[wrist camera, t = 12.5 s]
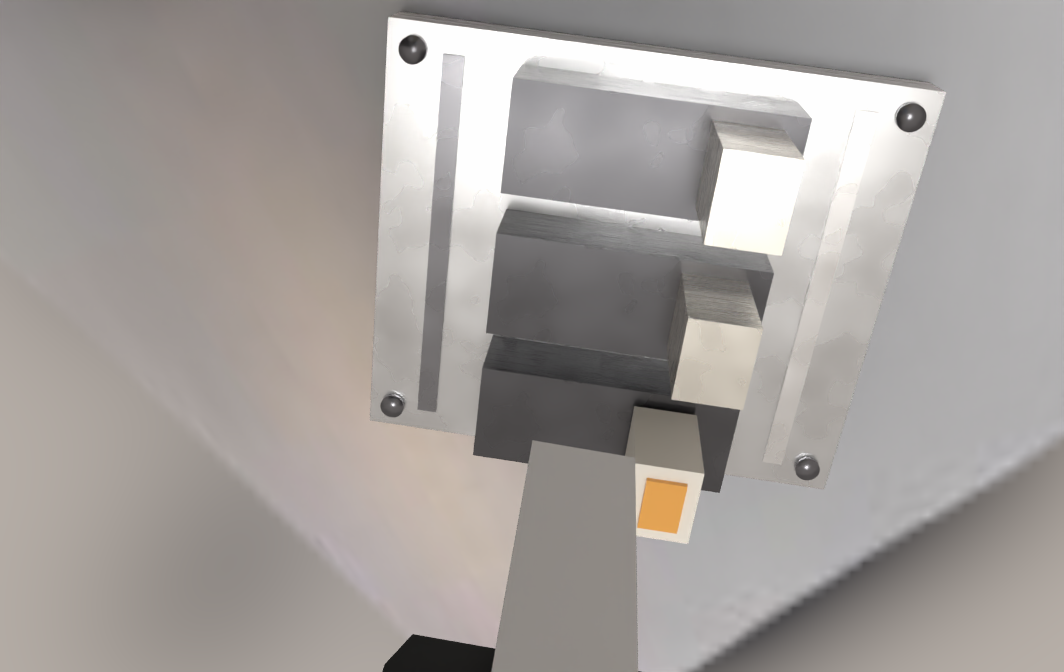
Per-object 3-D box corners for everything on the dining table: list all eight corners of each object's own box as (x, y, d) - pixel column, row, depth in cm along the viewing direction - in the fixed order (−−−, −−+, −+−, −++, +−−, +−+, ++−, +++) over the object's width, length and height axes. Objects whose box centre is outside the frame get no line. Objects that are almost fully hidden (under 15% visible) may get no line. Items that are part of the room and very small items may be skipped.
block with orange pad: (621, 471, 36) (621, 536, 32) (634, 406, 35) (635, 466, 31) (682, 480, 36) (688, 547, 32) (696, 415, 35) (705, 477, 31)
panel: (381, 398, 42) (321, 515, 34) (401, 11, 35) (330, 42, 27) (815, 464, 41) (861, 599, 33) (929, 82, 34) (1023, 136, 26)
